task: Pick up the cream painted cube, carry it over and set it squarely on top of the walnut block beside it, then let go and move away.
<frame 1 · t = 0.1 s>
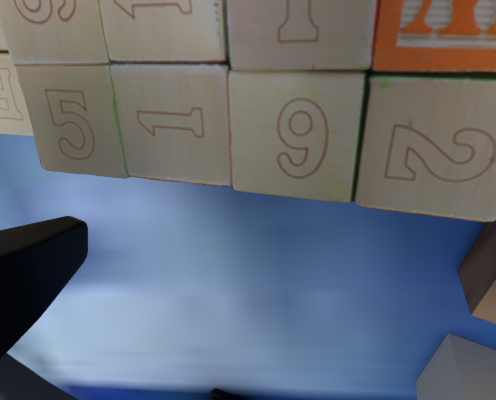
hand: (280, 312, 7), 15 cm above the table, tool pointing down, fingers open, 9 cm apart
stack of blocks: (226, 38, 20), on the table
cream cube: (470, 372, 24), on the table
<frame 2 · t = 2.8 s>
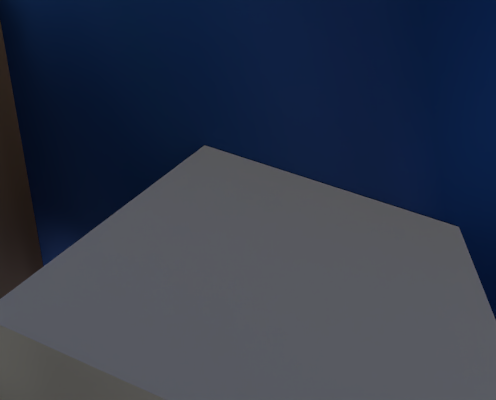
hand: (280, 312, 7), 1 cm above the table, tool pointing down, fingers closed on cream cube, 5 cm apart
cream cube: (290, 281, 8), on the table, touching gripper
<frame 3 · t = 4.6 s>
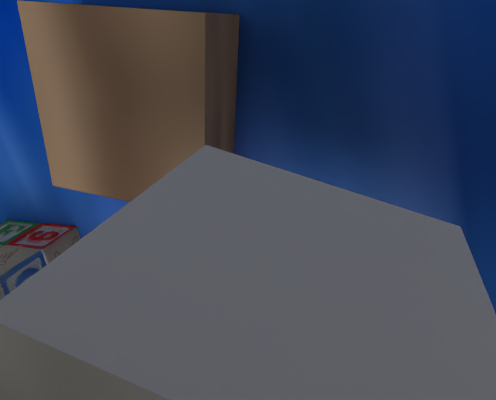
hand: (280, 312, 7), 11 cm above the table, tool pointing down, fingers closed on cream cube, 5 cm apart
stack of blocks: (83, 336, 30), on the table
cream cube: (291, 280, 8), point 10 cm above the table, touching gripper
walnut block: (162, 97, 19), on the table
when the fingers open (6 cm above the table, at t = 6.7 s): cream cube drops 2 cm, resting on walnut block.
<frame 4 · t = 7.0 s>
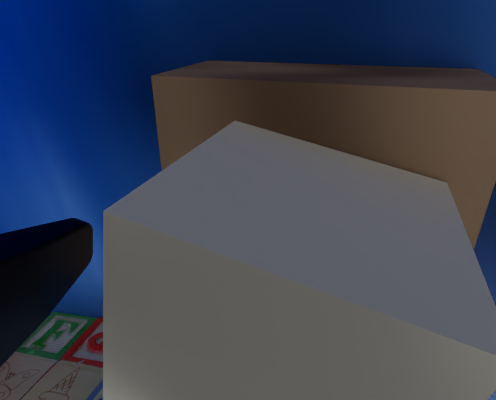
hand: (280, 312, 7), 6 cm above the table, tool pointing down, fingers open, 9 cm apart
cream cube: (306, 237, 10), point 4 cm above the table, touching walnut block
walnut block: (320, 181, 13), on the table, touching cream cube
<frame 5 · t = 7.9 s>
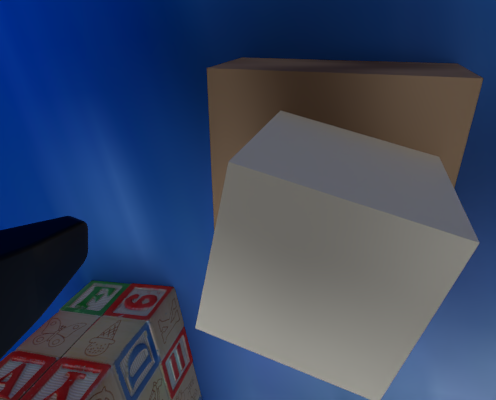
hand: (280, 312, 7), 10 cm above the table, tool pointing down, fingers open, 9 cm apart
stack of blocks: (170, 397, 28), on the table
cream cube: (331, 201, 13), point 4 cm above the table, touching walnut block
walnut block: (332, 157, 16), on the table, touching cream cube
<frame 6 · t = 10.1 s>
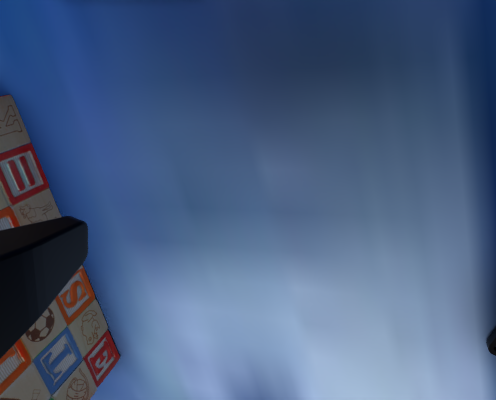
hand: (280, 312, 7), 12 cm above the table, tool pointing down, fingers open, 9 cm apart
stack of blocks: (45, 243, 28), on the table
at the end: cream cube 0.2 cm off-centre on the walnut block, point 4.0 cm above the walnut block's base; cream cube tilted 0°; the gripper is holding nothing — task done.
